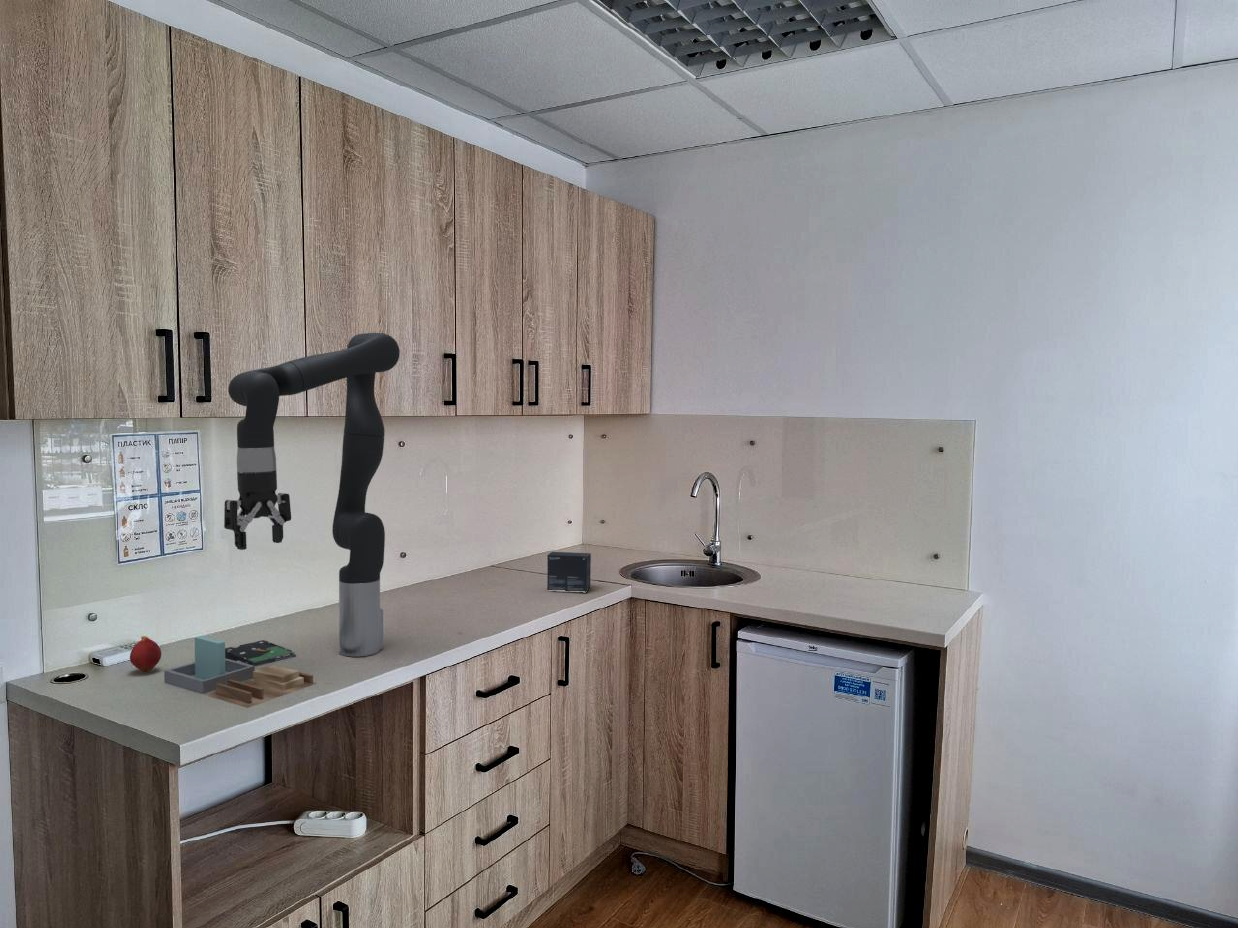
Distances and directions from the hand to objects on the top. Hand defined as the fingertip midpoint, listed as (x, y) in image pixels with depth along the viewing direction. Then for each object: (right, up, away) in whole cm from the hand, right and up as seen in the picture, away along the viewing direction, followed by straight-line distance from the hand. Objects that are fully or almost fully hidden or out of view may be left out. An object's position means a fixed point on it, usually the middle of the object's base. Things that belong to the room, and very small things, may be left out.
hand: (259, 545), depth 172 cm
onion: (-27, -28, +5) cm, 39 cm away
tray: (-9, -29, -2) cm, 30 cm away
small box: (+59, -24, +91) cm, 111 cm away
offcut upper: (+5, -27, -4) cm, 27 cm away
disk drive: (-7, -28, +15) cm, 33 cm away
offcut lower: (+6, -28, -4) cm, 29 cm away
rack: (+4, -29, -7) cm, 30 cm away
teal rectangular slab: (-9, -28, -2) cm, 29 cm away
